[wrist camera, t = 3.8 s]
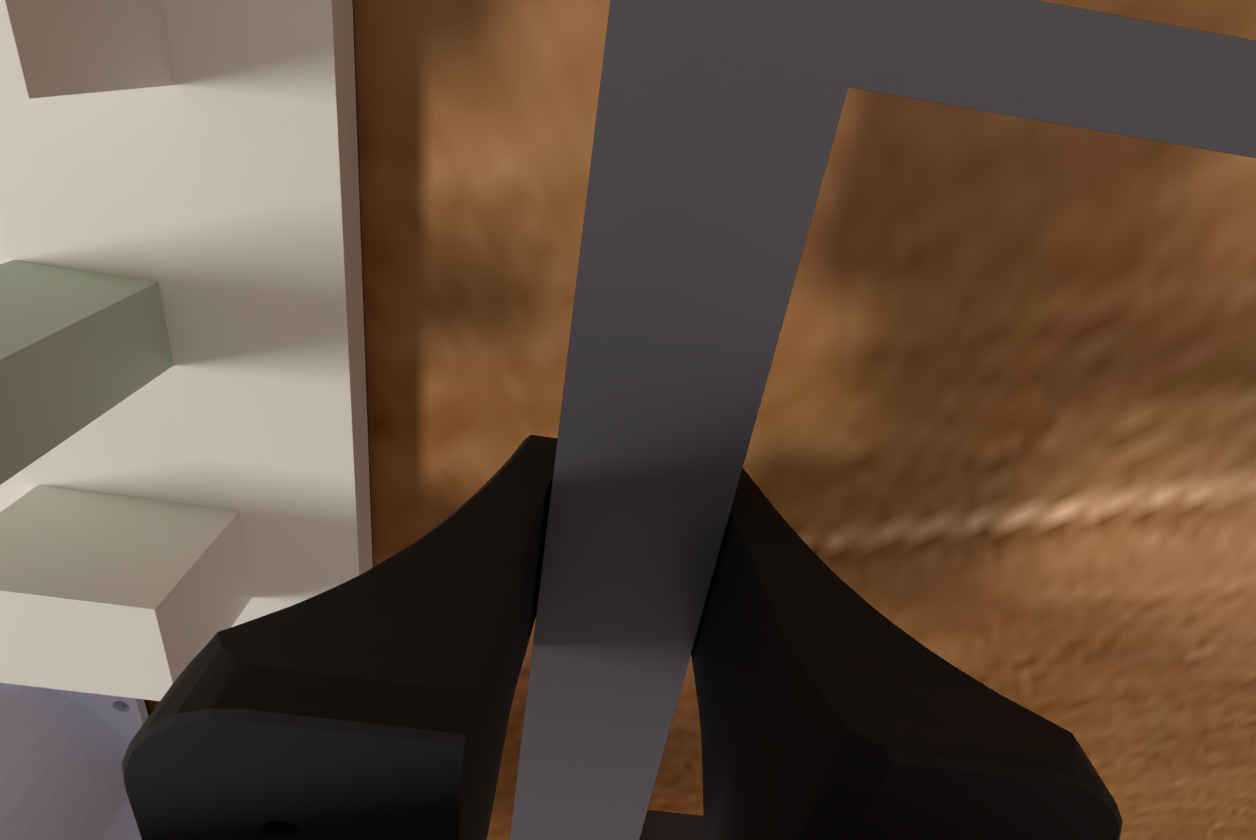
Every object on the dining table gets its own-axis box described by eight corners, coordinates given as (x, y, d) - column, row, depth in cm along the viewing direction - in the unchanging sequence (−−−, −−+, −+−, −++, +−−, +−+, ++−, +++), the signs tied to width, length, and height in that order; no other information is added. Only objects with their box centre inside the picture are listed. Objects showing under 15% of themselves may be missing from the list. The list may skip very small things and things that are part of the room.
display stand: (374, 622, 21) (280, 827, 15) (-1, 576, 20) (-237, 771, 15) (345, -177, 12) (91, -364, 6) (-339, -307, 11) (-1268, -635, 6)
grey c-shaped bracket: (855, 744, 18) (907, 913, 14) (532, 706, 18) (505, 872, 14) (1183, 67, 10) (1458, 79, 7) (627, -34, 10) (619, -77, 6)
